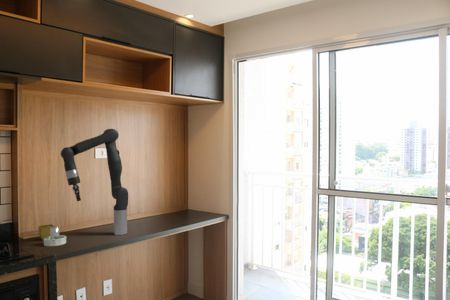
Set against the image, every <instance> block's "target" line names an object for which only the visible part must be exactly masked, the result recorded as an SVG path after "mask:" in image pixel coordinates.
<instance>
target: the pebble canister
mask: <svg viewBox="0 0 450 300" xmlns="http://www.w3.org/2000/svg"><path fill="white" fill-rule="evenodd" d="M59 235H60V226H59V225H54V226H51V227H50V240H52V239H59Z"/></svg>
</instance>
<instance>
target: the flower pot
mask: <svg viewBox="0 0 450 300" xmlns="http://www.w3.org/2000/svg"><path fill="white" fill-rule="evenodd" d="M51 226H55V225H54V224H44V225H38V226H37V230H38V234H39V237H40V239H41V240H42V241H44V238H45V237H49V236H50V227H51Z"/></svg>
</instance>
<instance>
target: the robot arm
mask: <svg viewBox="0 0 450 300" xmlns="http://www.w3.org/2000/svg"><path fill="white" fill-rule="evenodd" d="M118 139H119V131H118V130H117V129H115V128H106V129H105V130H103V133H102V134H99V135H97V136H94V137H91V138H87V139H85V140H81V141H79V142H77V143H75V144H74V145H71V146H69V147H63V148H62V150H61V151H60V157H61V158H62V160H63V165H64V170H65V171H64V172H65V175H66V176H65V178H66V181H67V184H68V186H72V191H73V194H74V195H75V199H76V201H77V202H81V200H82V199H81V193H80V186H79V184H80V183H81V179H80V175H79V172H78V168H77V164H76V162H75V156H77V155H79V154H82V153H84V152H87V151H89V150H92V149H94V148H97V147H98V146H101V145H104V146H105V150H106V159H107V160H106V161H107V167H108V171H109V178H110V185H111V186H110V189H111V196H112V198H113V199H115V204H114V206H113V235H115V236H122V235H126V234H128V205H129V191H128V189H127V188H126V187H124V186H123V185H122V180H121V176H122V172H123V166H122V164H123V163H122V159H121V156H120V153H119V152H118V149H117V142H116V141H117V140H118ZM122 186H123V187H122Z"/></svg>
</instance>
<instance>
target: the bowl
mask: <svg viewBox="0 0 450 300" xmlns="http://www.w3.org/2000/svg"><path fill="white" fill-rule="evenodd" d="M65 244H67V235H64V234H63V235H60V234H59V239H52V240H50V236H49V237H45V238H44V240H43V246H44V247H58V246H63V245H65Z"/></svg>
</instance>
